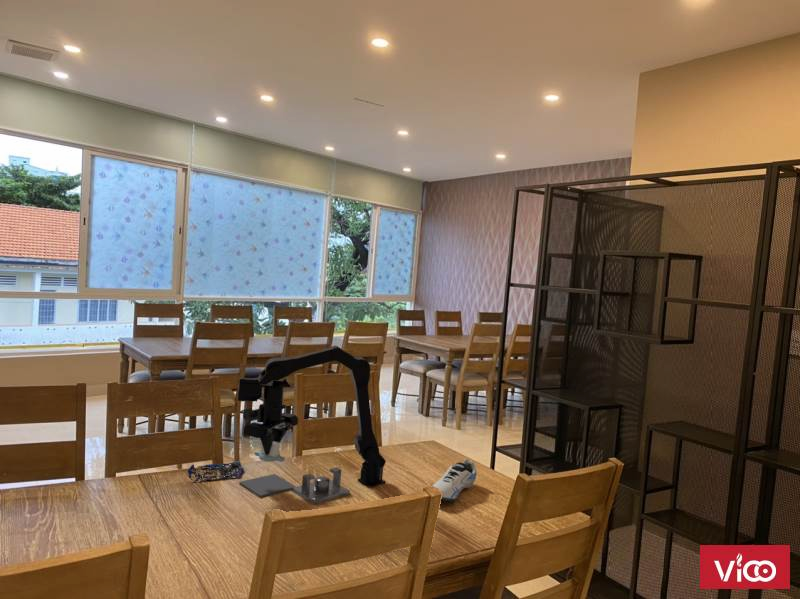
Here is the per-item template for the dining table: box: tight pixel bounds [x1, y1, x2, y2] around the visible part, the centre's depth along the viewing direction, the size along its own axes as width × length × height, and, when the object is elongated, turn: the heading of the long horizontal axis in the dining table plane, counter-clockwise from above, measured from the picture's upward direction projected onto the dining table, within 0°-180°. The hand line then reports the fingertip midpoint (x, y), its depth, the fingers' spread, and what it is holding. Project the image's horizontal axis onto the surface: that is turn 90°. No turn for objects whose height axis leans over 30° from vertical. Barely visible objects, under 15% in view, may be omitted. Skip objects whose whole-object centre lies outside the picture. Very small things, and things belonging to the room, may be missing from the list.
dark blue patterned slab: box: [187, 460, 245, 484], centre depth 175 cm, size 16×12×2 cm
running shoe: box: [432, 458, 477, 503], centre depth 173 cm, size 9×25×9 cm, turn 151°
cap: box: [254, 441, 286, 463], centre depth 167 cm, size 10×6×5 cm, turn 66°
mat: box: [239, 473, 297, 498], centre depth 168 cm, size 12×12×1 cm
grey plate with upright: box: [291, 467, 351, 505], centre depth 166 cm, size 13×11×6 cm
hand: (269, 453), depth 167 cm, fingers closed on cap, 2 cm apart
